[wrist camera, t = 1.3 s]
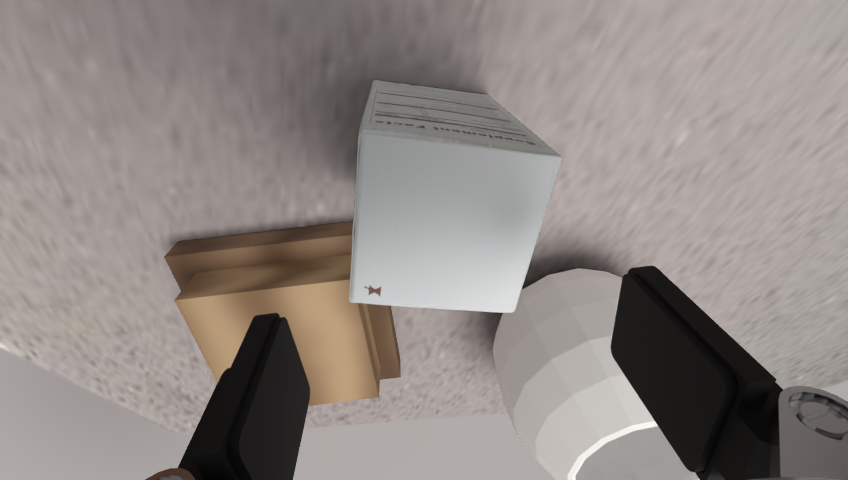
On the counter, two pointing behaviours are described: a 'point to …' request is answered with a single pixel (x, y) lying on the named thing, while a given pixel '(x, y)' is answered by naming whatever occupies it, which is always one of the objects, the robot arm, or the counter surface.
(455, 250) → the supplement box
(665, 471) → the white vase
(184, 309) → the plinth
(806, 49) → the counter surface
